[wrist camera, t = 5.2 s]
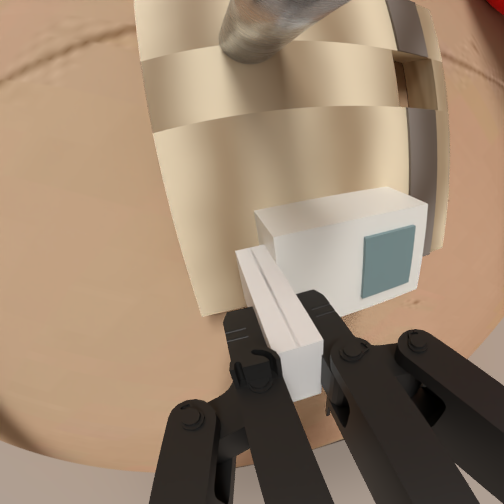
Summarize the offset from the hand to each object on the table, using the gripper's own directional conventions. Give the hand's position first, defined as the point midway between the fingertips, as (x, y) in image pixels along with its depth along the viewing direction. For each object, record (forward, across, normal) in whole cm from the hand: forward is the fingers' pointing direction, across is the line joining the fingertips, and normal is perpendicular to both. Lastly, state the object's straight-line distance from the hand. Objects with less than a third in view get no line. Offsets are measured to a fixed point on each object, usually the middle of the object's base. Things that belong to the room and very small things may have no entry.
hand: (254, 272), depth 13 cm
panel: (+4, +6, +6) cm, 9 cm away
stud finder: (+2, +5, 0) cm, 5 cm away
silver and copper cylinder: (+1, +2, +11) cm, 11 cm away
